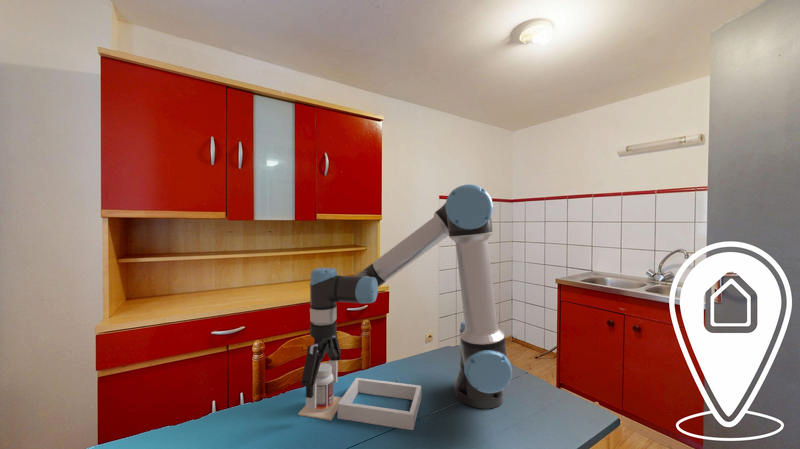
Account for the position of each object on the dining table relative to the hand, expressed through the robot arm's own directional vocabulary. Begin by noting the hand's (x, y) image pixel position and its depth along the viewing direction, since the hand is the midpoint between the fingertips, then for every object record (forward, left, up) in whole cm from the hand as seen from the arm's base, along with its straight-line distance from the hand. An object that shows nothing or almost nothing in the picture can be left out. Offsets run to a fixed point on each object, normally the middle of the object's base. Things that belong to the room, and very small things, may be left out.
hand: (322, 393), depth 87 cm
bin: (-17, -3, -4) cm, 18 cm away
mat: (0, 0, -4) cm, 4 cm away
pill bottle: (0, 0, -4) cm, 4 cm away
